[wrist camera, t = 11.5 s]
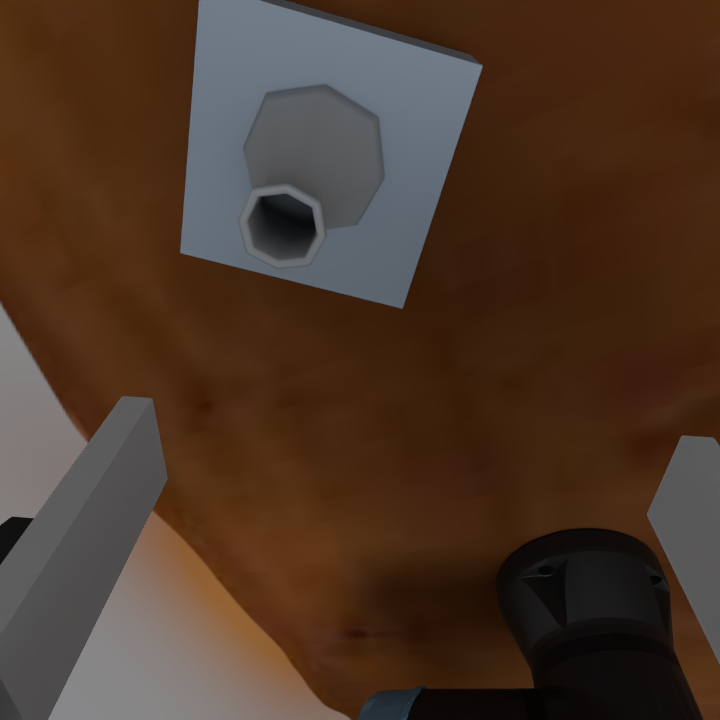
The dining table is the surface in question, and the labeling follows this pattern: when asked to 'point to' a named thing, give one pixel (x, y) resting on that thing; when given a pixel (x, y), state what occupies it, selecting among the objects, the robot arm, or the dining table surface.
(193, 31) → the dining table surface
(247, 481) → the dining table surface
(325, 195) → the flask
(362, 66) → the grey block
